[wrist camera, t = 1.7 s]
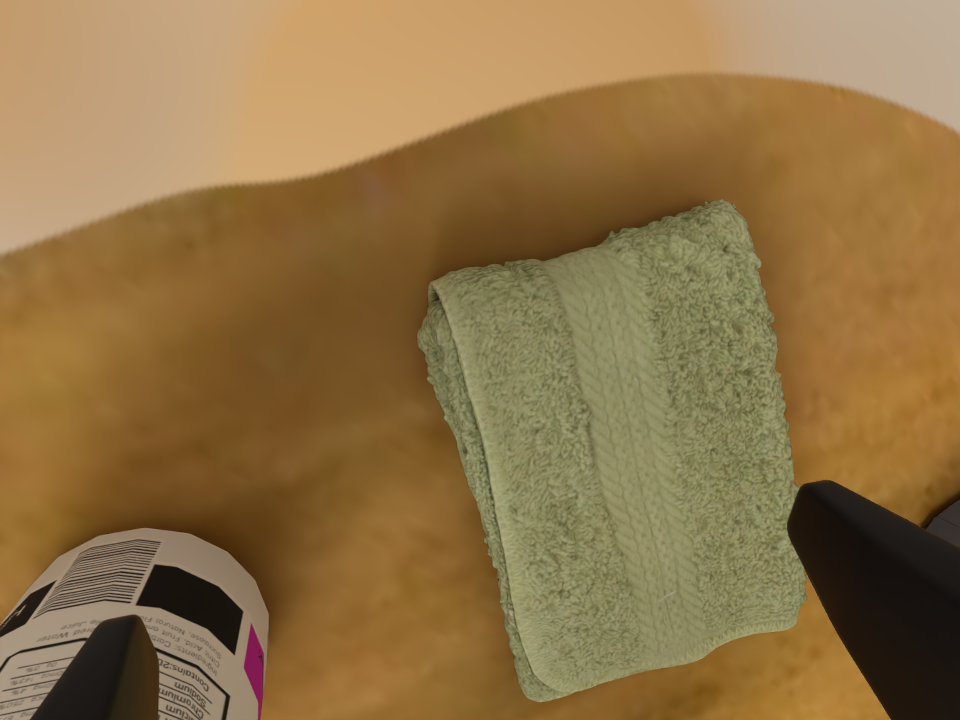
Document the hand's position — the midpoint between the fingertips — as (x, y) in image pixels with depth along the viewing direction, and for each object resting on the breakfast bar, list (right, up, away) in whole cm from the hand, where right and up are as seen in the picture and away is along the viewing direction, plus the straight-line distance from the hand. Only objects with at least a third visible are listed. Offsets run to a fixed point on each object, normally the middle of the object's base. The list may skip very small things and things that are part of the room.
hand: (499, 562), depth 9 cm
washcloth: (+5, -1, +19) cm, 19 cm away
